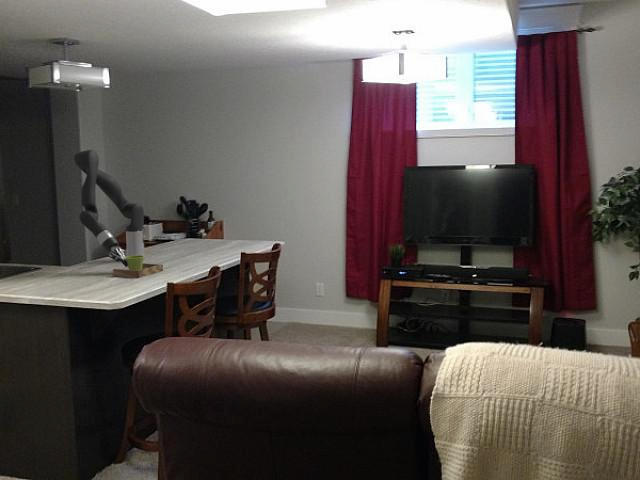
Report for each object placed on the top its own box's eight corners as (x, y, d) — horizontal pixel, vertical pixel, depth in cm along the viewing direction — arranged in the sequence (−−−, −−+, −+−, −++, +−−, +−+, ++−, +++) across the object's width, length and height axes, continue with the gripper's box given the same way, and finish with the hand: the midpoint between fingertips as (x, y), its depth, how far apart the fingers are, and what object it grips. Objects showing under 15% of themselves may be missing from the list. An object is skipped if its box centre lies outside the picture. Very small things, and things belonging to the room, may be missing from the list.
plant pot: (130, 275, 308) (129, 258, 307) (123, 273, 315) (122, 256, 314) (148, 273, 314) (147, 256, 313) (140, 271, 321) (139, 254, 320)
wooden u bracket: (138, 269, 326) (138, 263, 325) (162, 271, 320) (162, 264, 320) (113, 276, 307) (112, 269, 306) (138, 278, 301) (138, 271, 301)
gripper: (102, 237, 310) (123, 262, 307) (120, 234, 323) (140, 259, 320) (94, 247, 313) (115, 272, 310) (112, 244, 325) (132, 268, 322)
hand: (127, 265), depth 315 cm, fingers closed
